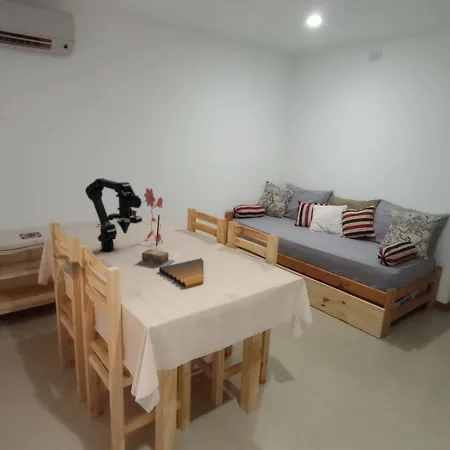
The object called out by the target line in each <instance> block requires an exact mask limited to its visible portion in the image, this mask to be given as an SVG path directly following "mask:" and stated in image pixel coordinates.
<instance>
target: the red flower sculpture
mask: <svg viewBox="0 0 450 450" xmlns="http://www.w3.org/2000/svg"><path fill="white" fill-rule="evenodd" d="M143 197H144V198H145V200H144V201H143V202H142V204H144V203H145V202H146V206H147V207H150V208H151V209H150V213H151V216H152V217H151V222H150V225H151V227H150V228H151V230H150V232H149V233H148V235H147V237H146V240H148V239H149V238H151V237H152V236H153V238H154V240H155V241H154V242H156V240H157V235H156V236H155V233H154V230H153V223H152V222H154V223H157V224H158V223H159V222H158V221H156V220H157V218H156V217H154V214H153V210H154V209H155V208H156V207H158V208H161V209H163V203H164V200H163V198H162V197H161V196H159V198H157V201H156V198H155V196H154V190H153V188H152V187H151V188H150V189H149V187H147V188H145V193H144V196H143ZM161 226H162V225H161V224H160V223H159V230H158V233H157V234H158V244H159V243H160V242H161V243H164V241H163V239H162V235H161V234H160V230H161ZM138 244H139V245H140V246H144V247H145V245H144V244H141V243H138ZM148 247H150V248H151V247H152V248H153V247H154V246H153V245H151V246H150V245H148Z"/></svg>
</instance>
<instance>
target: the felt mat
mask: <svg viewBox="0 0 450 450" xmlns="http://www.w3.org/2000/svg"><path fill="white" fill-rule="evenodd" d="M174 263H175V260H172V259H168V262H166V263H164V264H163V265H158V264H152V263H147V262H142V261H141V265H146V266H152V267H157V268H160V267H164V266H169V265H173V264H174Z"/></svg>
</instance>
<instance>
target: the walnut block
mask: <svg viewBox="0 0 450 450" xmlns="http://www.w3.org/2000/svg"><path fill="white" fill-rule="evenodd" d="M168 260H169V252H168V251H163V250H158V249H157V250H156V249H150V248H149V249H147V250H145V251H143V252H142V253H141V263H142V262H147V263H152V264H158V265H163V264H164V263H166V262H168Z"/></svg>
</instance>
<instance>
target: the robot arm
mask: <svg viewBox="0 0 450 450" xmlns="http://www.w3.org/2000/svg"><path fill="white" fill-rule="evenodd" d="M105 188H107V189H111V190H113V191H114V193H117V194H116V195H115V197H116V198H118V207H117V211H118V213H110V214H108V213H107V211H106V208H105V205H104V202H103V200H102V197H103V190H104V189H105ZM85 193H86V195H87V198H88V199H89V200H90V201H91V202H93V206H94V209H95V212H96V214H97V217H98V221H99V223H100V229H99V231H100V234H99V235H98V236H97V240H98V242H100V249H99V252H104V253H105V252H106V253H110V252H113V251H115V250H116V248H115V242H114V240H116V237H117V235H118V232H117V230H118V229H117V228H116V224H114V223H111V222H110V221H113V220H114V219H116V220H117V221H116V223H117V224H118V225H119V227H120V229H121V230H122V232H123V234H127V232H128V230H129V227H130V224H138V223H142V222H143V218H142V217H141V216H139V215H137V210H134V209H139V208H140V207H141V206H142V204H143V202H142V199H141V198H140V197H139V195H138V194H136V193H135V191H134V189H133V188H132V185H131V183H130V182H128V181H127V182H123V181H122V182H119V181H113V180H109V179H107V178H103V177H102V178H101V177H100V178H96V179H95V180H94V181H93V182H91V183H90V184H88V185H87V186H86V188H85ZM132 208H134V209H132Z"/></svg>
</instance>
